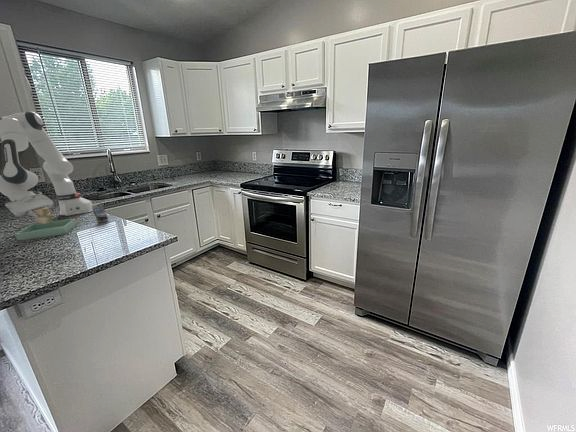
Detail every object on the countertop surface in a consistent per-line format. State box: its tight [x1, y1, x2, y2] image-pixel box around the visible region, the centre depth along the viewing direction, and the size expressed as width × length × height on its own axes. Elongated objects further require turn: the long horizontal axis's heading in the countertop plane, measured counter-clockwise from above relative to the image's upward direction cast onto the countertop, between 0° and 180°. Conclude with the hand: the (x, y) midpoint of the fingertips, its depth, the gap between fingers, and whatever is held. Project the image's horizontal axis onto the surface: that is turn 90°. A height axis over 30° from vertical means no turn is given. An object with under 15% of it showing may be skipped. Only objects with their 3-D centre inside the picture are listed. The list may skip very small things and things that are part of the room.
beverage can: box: [92, 202, 108, 223], centre depth 169 cm, size 6×7×12 cm
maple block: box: [33, 208, 54, 224], centre depth 152 cm, size 5×5×8 cm
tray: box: [14, 218, 78, 242], centre depth 155 cm, size 22×18×4 cm
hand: (43, 215), depth 152 cm, fingers closed on maple block, 5 cm apart
